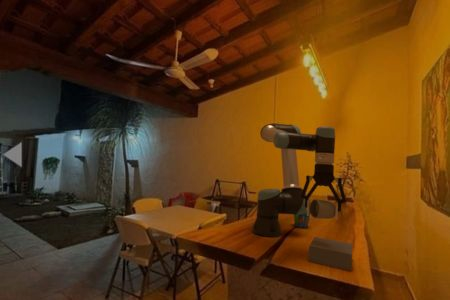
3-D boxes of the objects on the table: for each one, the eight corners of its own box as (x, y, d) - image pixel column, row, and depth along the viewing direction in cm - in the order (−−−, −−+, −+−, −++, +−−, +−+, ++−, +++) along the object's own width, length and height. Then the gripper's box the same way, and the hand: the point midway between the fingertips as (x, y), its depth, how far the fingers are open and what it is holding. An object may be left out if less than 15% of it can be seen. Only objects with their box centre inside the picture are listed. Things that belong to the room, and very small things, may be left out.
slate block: (308, 261, 99) (309, 245, 99) (313, 250, 112) (314, 236, 112) (351, 271, 92) (351, 254, 92) (351, 258, 105) (352, 243, 105)
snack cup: (299, 223, 163) (300, 207, 164) (315, 227, 156) (316, 210, 156) (286, 226, 152) (287, 209, 153) (302, 230, 145) (303, 212, 145)
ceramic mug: (337, 220, 101) (337, 201, 101) (318, 220, 99) (319, 200, 100) (322, 215, 111) (322, 198, 112) (305, 215, 110) (305, 197, 110)
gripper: (294, 162, 107) (292, 214, 106) (354, 164, 96) (352, 223, 95) (298, 162, 114) (296, 212, 113) (355, 165, 103) (353, 220, 101)
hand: (322, 217), depth 104 cm, fingers closed on ceramic mug, 10 cm apart
